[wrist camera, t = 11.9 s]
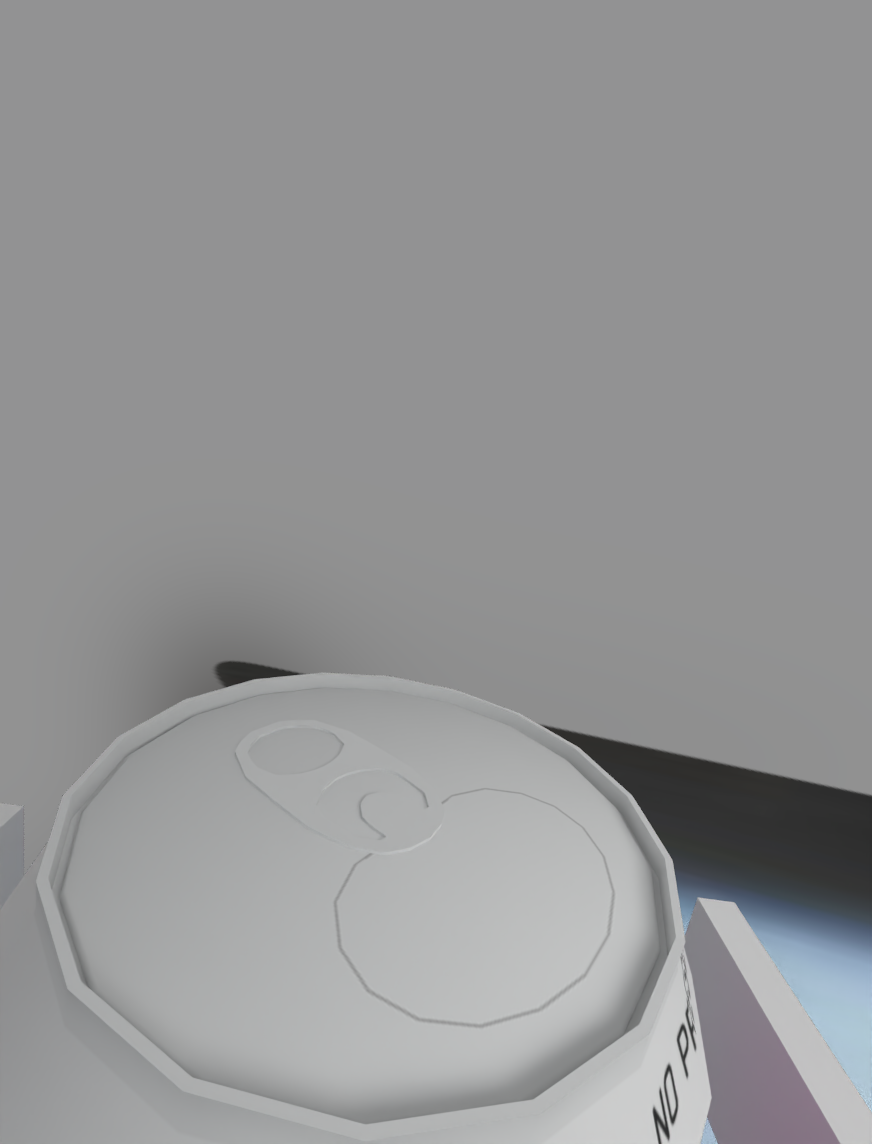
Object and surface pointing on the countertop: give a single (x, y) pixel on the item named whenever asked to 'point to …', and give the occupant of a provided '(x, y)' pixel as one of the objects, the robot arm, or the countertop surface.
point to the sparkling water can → (347, 935)
